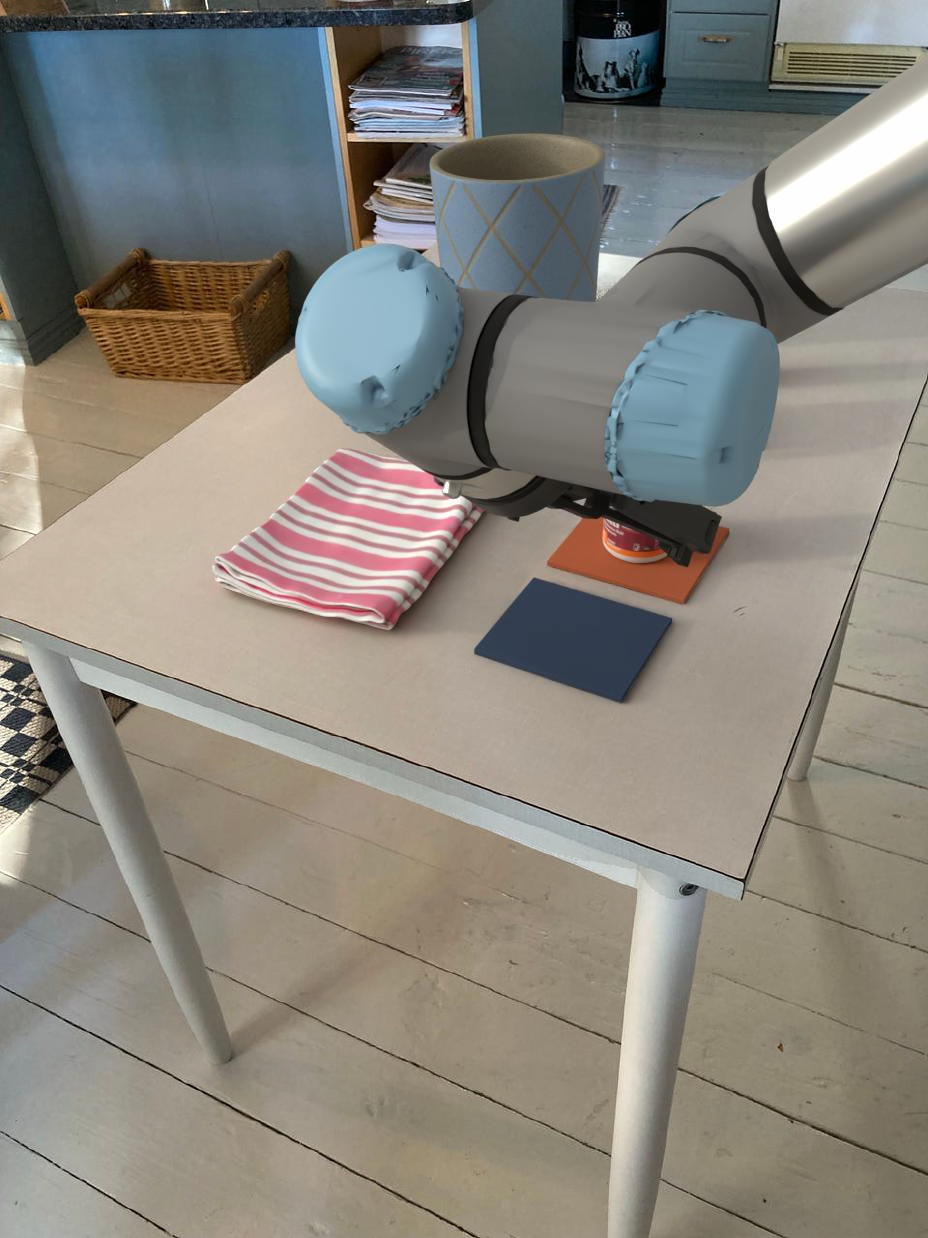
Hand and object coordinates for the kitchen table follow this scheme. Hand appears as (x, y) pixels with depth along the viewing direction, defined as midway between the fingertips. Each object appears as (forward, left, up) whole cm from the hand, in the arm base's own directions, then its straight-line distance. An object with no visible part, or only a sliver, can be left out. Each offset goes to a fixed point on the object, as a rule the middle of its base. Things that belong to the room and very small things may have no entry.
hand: (601, 525), depth 74 cm
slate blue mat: (0, +4, -8) cm, 9 cm away
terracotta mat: (0, -9, -8) cm, 12 cm away
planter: (+30, -45, -8) cm, 55 cm away
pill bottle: (0, -9, -8) cm, 12 cm away
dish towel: (+22, 0, -8) cm, 24 cm away
